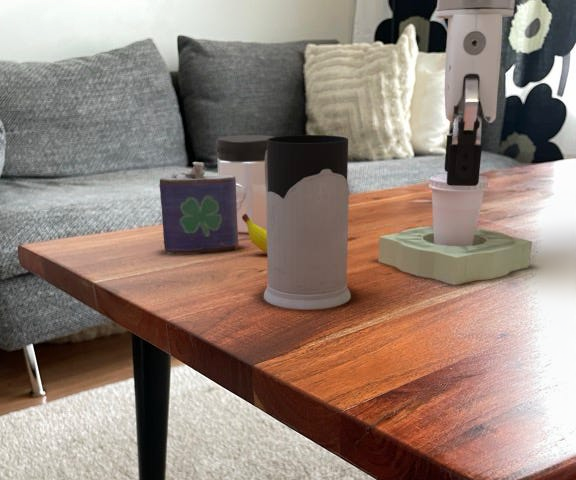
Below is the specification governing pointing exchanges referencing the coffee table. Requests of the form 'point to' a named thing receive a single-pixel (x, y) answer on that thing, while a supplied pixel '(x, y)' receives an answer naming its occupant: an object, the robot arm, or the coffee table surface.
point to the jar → (246, 175)
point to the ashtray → (454, 255)
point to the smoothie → (455, 210)
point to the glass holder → (307, 221)
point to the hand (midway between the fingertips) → (460, 177)
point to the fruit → (256, 234)
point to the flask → (199, 212)
